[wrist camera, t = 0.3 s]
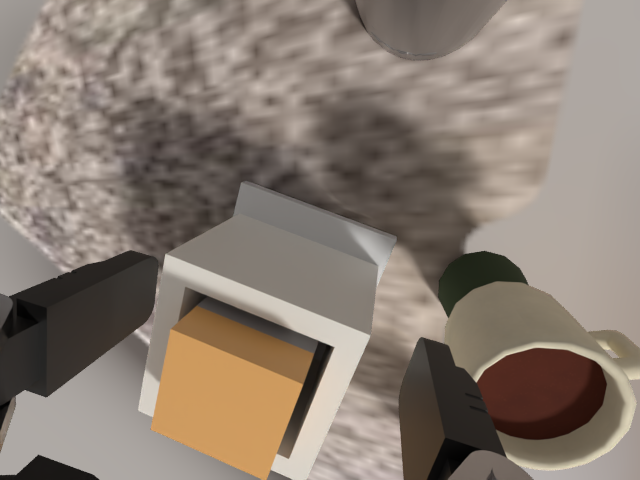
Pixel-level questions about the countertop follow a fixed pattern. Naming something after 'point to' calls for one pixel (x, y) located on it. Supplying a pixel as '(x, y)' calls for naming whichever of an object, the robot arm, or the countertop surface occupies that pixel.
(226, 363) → the orange block
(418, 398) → the robot arm
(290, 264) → the white open box
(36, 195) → the countertop surface
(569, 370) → the character mug
